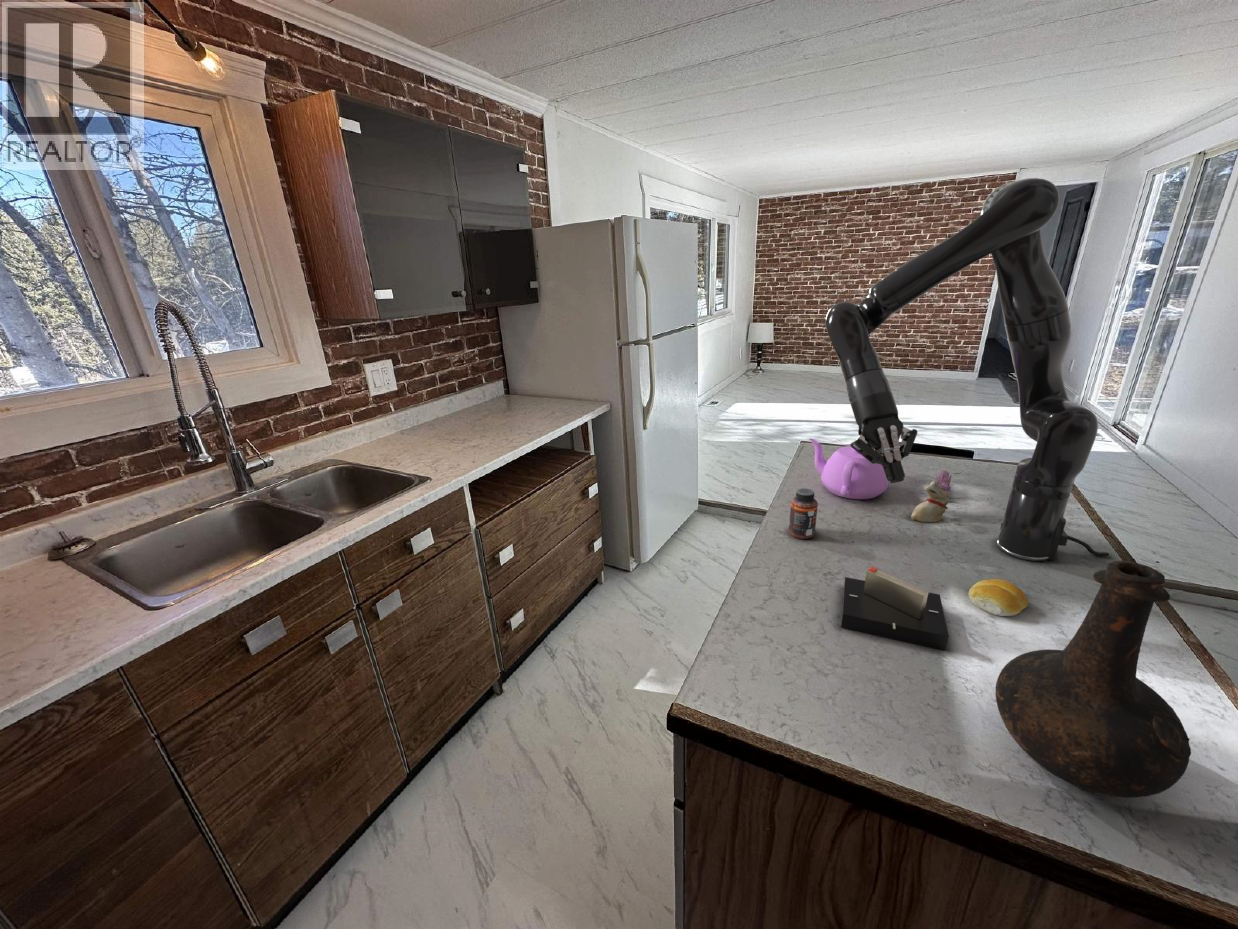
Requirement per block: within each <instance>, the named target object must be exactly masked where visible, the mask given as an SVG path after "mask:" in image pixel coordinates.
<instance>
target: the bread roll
mask: <svg viewBox="0 0 1238 929" xmlns="http://www.w3.org/2000/svg"><path fill="white" fill-rule="evenodd" d="M968 598H969V599H970V601H971V603H973V605H975V606H976V607H978V608H979V609H981V610H984V611H985V612H987V613H989V614H992V615H995V616H1000V617H1013V616H1016V615H1019V614H1020V613H1021V612H1022V611H1023V610H1024V609H1026V608H1027V607H1028V604H1029V600H1028V597H1027V595H1026V593H1025V592H1024V591H1023V590H1022V588H1020V587H1018V586H1017V585H1015V584H1013V583H1011V582H1010V581H1007V580H1004V579H999V578H998V579H997V578H991V579H983V580H980V581H978V582H976V583H975V584H973V585H972V586H971V587H970V588H969V591H968Z"/></svg>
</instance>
